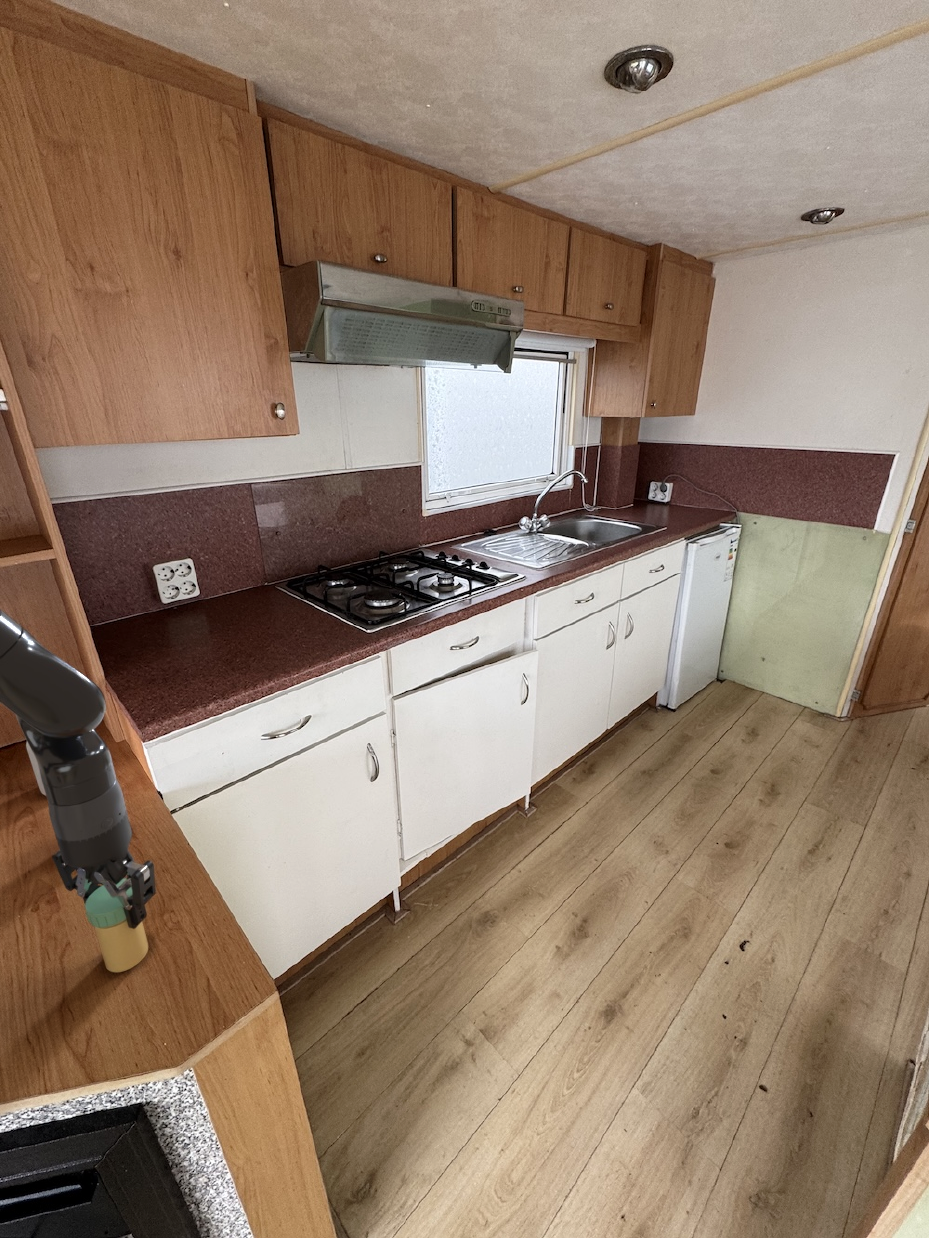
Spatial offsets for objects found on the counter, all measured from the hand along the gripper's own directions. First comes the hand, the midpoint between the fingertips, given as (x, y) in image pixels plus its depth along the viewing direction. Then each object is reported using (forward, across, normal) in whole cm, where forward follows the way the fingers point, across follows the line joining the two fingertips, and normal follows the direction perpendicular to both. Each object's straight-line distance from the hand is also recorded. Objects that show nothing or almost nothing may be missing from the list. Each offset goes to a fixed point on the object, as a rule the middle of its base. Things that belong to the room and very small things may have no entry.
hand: (117, 917), depth 73 cm
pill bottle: (+7, +42, -27) cm, 50 cm away
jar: (+7, 0, 0) cm, 7 cm away
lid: (-4, 0, 0) cm, 4 cm away
